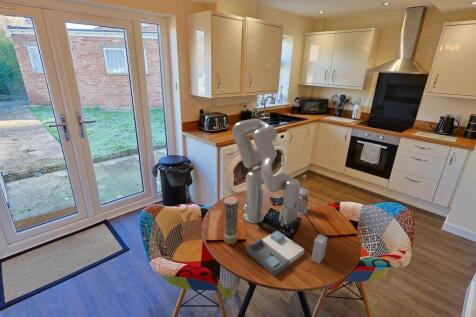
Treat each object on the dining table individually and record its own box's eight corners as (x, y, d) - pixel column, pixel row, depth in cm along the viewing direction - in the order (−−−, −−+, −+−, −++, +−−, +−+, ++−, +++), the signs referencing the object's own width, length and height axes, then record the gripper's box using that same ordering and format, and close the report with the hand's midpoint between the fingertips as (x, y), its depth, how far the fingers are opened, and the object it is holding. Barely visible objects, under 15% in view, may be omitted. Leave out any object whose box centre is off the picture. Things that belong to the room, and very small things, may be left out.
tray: (246, 252, 122) (246, 246, 121) (260, 243, 128) (260, 238, 127) (274, 276, 108) (274, 270, 107) (288, 266, 114) (289, 260, 113)
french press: (309, 214, 154) (315, 179, 144) (291, 214, 154) (295, 178, 145) (306, 206, 163) (311, 172, 154) (288, 205, 163) (292, 171, 154)
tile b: (270, 238, 128) (270, 234, 127) (276, 234, 131) (277, 230, 130) (277, 243, 124) (277, 239, 123) (284, 239, 127) (284, 235, 126)
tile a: (272, 255, 116) (271, 259, 117) (264, 260, 113) (264, 264, 114) (280, 262, 113) (279, 266, 113) (272, 267, 110) (272, 271, 111)
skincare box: (315, 252, 123) (319, 233, 118) (324, 256, 120) (328, 237, 116) (310, 259, 118) (314, 239, 114) (319, 264, 116) (323, 243, 111)
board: (261, 244, 128) (261, 239, 126) (276, 235, 135) (277, 230, 134) (288, 265, 115) (288, 260, 114) (303, 253, 122) (304, 249, 121)
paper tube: (239, 239, 131) (240, 198, 122) (232, 246, 125) (233, 205, 116) (228, 234, 134) (229, 195, 125) (221, 242, 128) (221, 201, 119)
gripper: (293, 194, 132) (290, 223, 139) (275, 203, 123) (272, 233, 130) (305, 200, 127) (301, 229, 133) (286, 210, 118) (283, 241, 125)
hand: (287, 231), depth 132 cm, fingers closed
